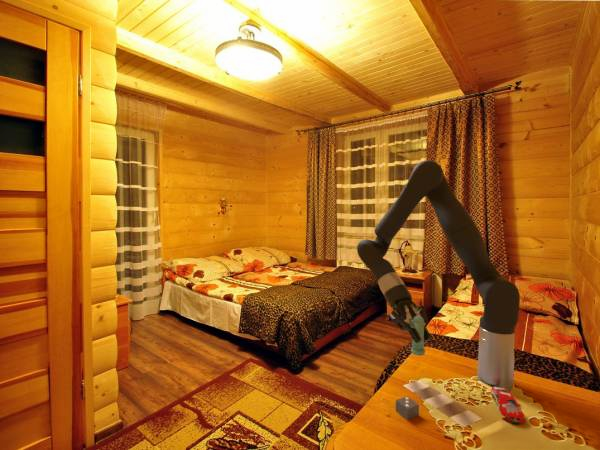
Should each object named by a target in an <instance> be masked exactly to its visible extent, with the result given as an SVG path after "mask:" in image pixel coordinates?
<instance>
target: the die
mask: <svg viewBox="0 0 600 450" xmlns="http://www.w3.org/2000/svg"><path fill="white" fill-rule="evenodd" d="M395 412H397V413H398V415H400V416H401V417H402V418H404V419H405V420H406V421H409V420H411V419H414V418H416V417H419V414H420V404H419V403H417V402H416V401H414V400H413V399H411V398H410V397H409V396H407V395H406V396H404V397H401V398H397V399H395Z"/></svg>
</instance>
